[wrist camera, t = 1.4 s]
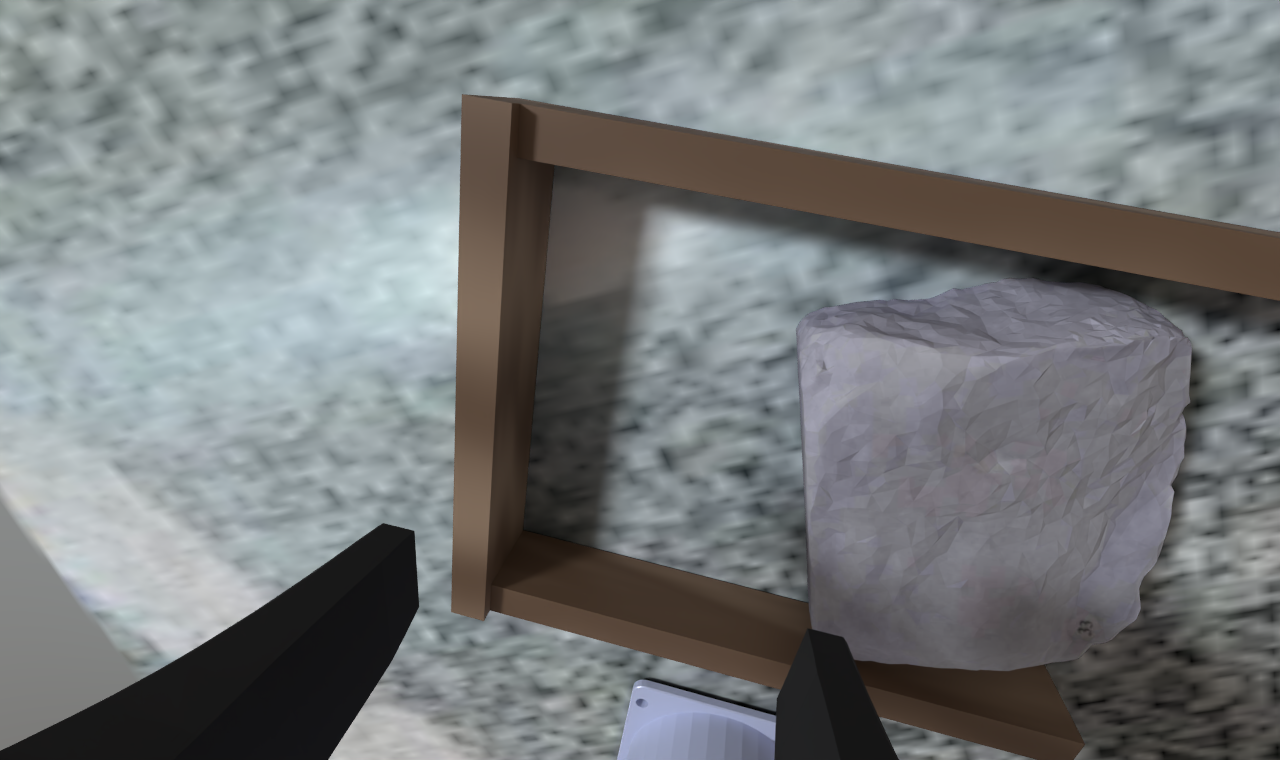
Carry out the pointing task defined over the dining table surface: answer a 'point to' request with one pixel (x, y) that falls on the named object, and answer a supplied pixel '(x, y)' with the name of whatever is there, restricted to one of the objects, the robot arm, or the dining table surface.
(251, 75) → the dining table surface
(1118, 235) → the shelf lane
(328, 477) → the dining table surface
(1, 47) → the dining table surface
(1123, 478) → the stone block
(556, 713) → the dining table surface
